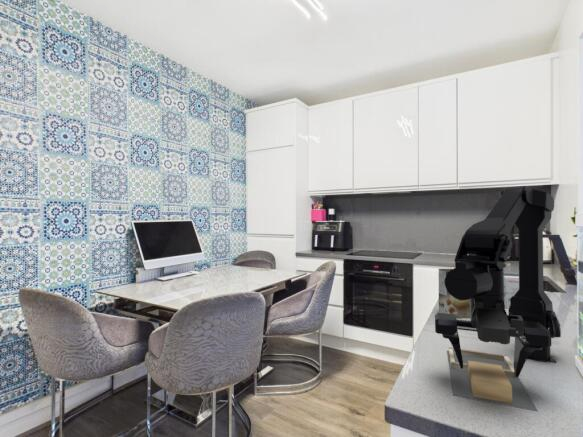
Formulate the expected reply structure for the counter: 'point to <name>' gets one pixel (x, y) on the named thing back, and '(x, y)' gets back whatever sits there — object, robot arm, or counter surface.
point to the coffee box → (451, 299)
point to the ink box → (510, 288)
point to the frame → (482, 355)
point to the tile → (489, 382)
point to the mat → (463, 389)
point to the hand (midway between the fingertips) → (488, 371)
